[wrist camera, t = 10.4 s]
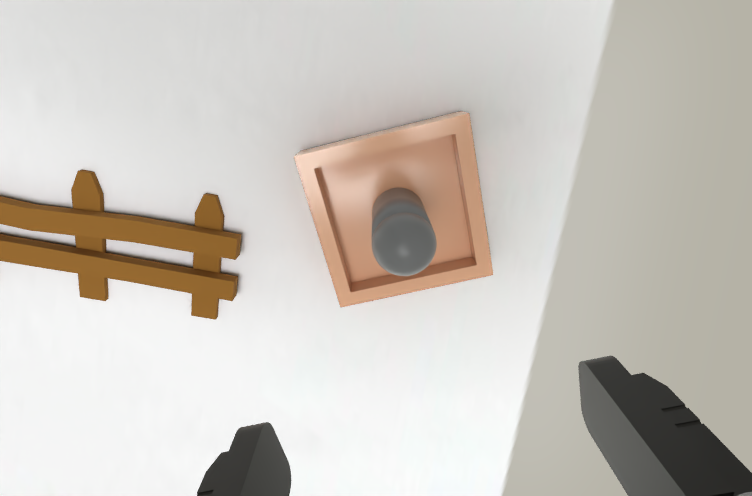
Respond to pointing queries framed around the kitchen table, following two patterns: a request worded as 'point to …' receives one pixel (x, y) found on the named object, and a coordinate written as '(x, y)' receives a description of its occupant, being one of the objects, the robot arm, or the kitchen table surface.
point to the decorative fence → (99, 226)
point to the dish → (398, 170)
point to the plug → (402, 233)
